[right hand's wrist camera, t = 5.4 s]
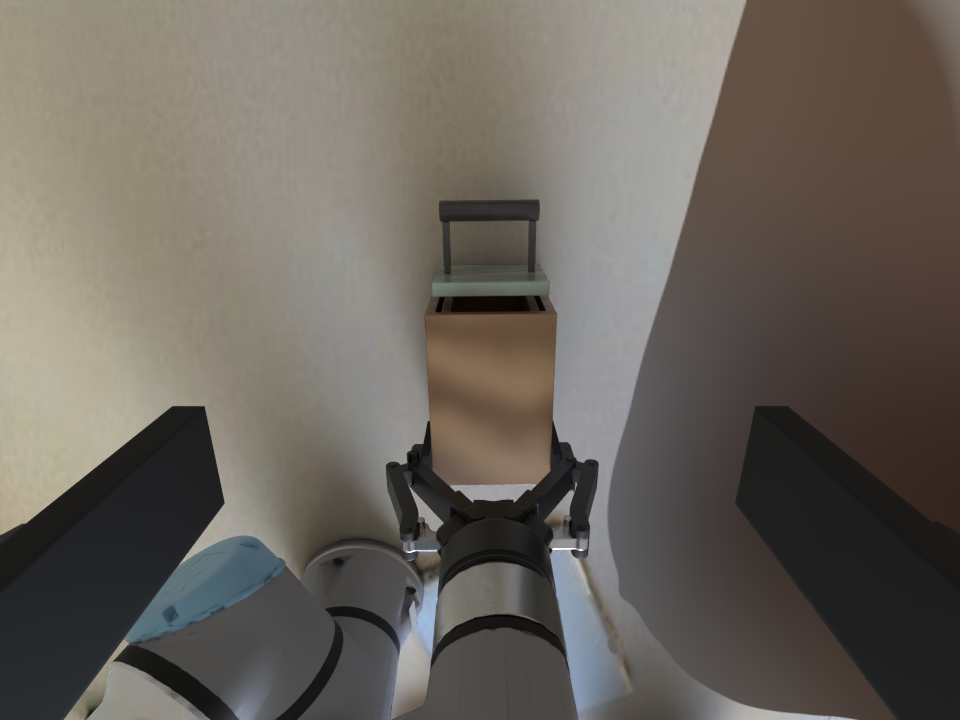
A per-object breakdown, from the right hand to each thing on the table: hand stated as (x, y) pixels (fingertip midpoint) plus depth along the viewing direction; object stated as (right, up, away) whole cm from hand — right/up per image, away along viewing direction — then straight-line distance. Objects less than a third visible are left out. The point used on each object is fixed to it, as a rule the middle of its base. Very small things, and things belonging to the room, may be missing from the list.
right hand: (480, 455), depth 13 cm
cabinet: (+1, +2, +43) cm, 43 cm away
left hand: (+1, -5, +40) cm, 41 cm away
